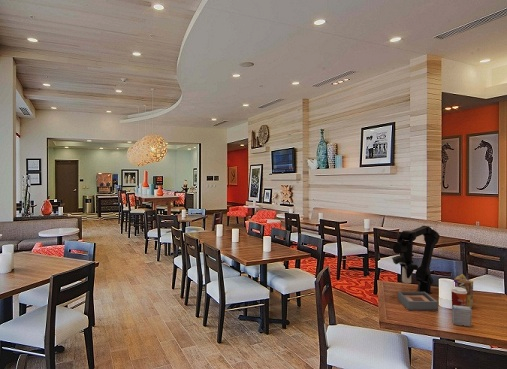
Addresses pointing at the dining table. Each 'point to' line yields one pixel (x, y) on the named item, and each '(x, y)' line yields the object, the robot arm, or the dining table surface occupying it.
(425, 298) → the bin
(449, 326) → the dining table surface
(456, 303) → the paper cup
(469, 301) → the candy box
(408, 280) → the peg
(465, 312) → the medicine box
